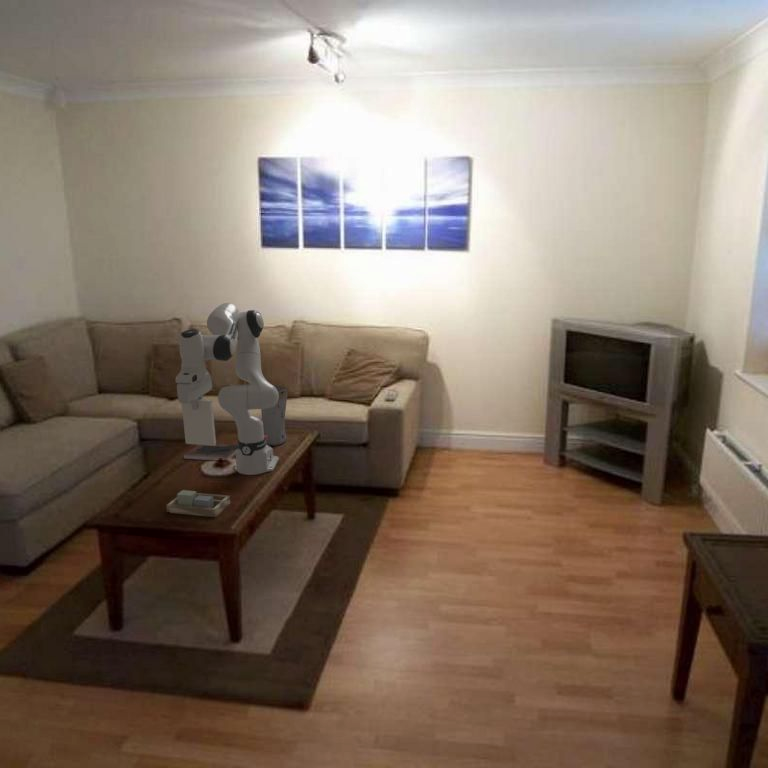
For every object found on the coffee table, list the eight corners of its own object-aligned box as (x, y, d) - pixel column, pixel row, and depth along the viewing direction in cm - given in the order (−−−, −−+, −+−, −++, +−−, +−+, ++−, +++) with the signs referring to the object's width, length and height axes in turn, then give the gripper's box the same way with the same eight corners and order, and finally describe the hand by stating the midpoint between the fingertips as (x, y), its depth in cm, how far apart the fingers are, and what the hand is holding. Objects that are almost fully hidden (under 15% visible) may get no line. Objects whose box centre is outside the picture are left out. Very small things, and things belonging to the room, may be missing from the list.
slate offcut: (200, 508, 260) (198, 495, 258) (214, 509, 258) (213, 496, 257) (195, 512, 256) (193, 499, 254) (209, 514, 254) (208, 500, 253)
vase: (286, 447, 324) (284, 391, 317) (258, 446, 325) (256, 391, 317) (290, 438, 337) (289, 384, 330) (263, 437, 337) (261, 384, 330)
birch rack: (183, 498, 268) (183, 491, 267) (230, 502, 264) (229, 495, 263) (167, 512, 256) (166, 505, 255) (215, 517, 252) (214, 509, 251)
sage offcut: (183, 506, 261) (182, 490, 259) (197, 507, 260) (196, 491, 258) (178, 510, 257) (176, 494, 255) (192, 512, 256) (191, 495, 254)
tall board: (188, 442, 261) (183, 398, 256) (216, 444, 258) (212, 399, 253) (185, 443, 259) (181, 399, 254) (213, 445, 256) (209, 401, 252)
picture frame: (241, 450, 322) (200, 447, 326) (241, 445, 322) (200, 442, 326) (227, 462, 307) (184, 459, 311) (227, 457, 306) (183, 454, 310)
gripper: (199, 366, 262) (202, 400, 265) (172, 379, 242) (176, 415, 246) (214, 367, 260) (217, 400, 264) (188, 380, 241) (191, 416, 245)
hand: (197, 408), depth 255 cm, fingers closed on tall board, 2 cm apart
